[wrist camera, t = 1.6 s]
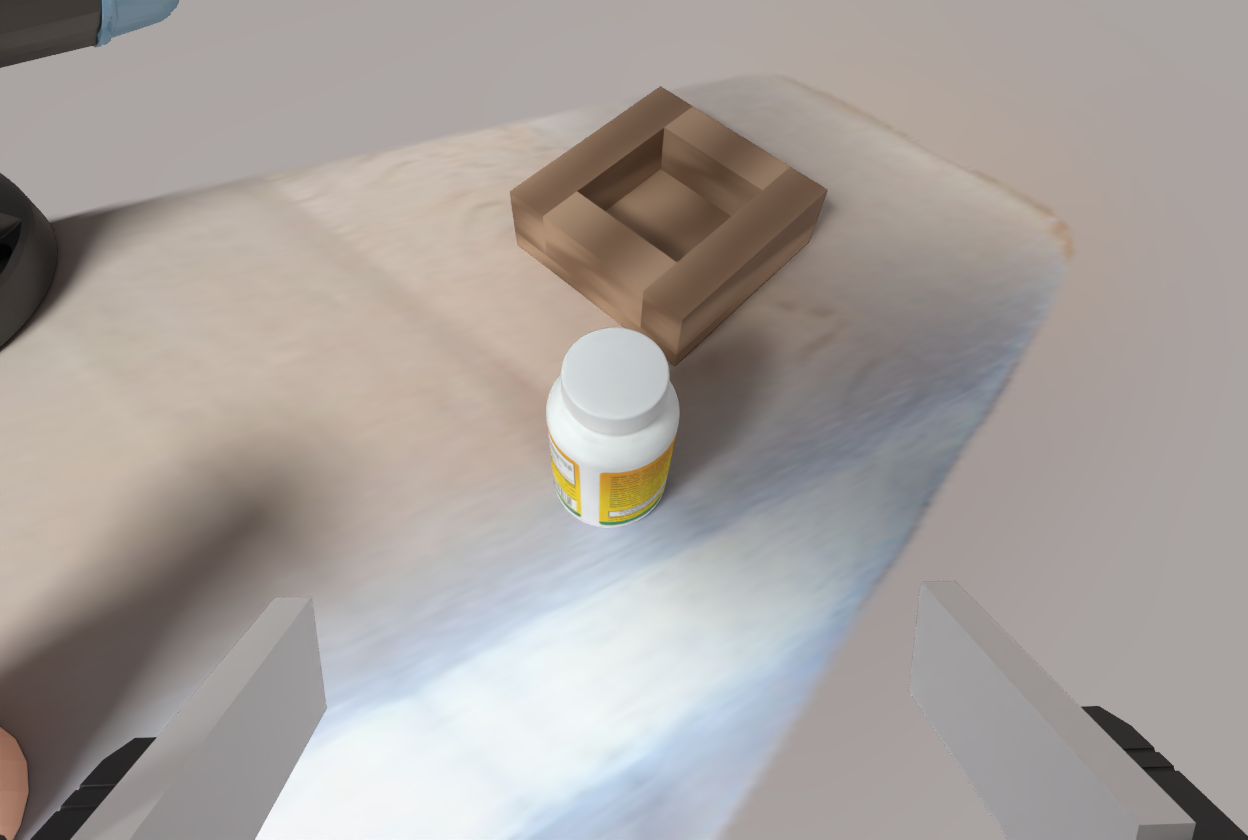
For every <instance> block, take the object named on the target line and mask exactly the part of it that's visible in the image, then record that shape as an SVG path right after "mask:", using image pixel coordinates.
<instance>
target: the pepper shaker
mask: <svg viewBox="0 0 1248 840" xmlns="http://www.w3.org/2000/svg"><path fill="white" fill-rule="evenodd" d="M28 793H29V788H28V772H27V761H26V759H25V757H24V755H23V753H22V751H21V749H20V747H19V745H18V743H17V741H16V739H15V738H14V737H13V736H11V735H10V734H9V733H7V732H6V731H5V730H4V729H2V728H1V727H0V835H4V836H5V837H6V839H7V840H13V839H14V837H15V835H16V833H17V831H18V830H19V828H20V825H21V821H22V817H23V813H24V809H25V805H26V801H27V797H28Z"/></svg>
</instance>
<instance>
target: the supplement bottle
mask: <svg viewBox="0 0 1248 840" xmlns="http://www.w3.org/2000/svg"><path fill="white" fill-rule="evenodd" d="M669 378H670V375H669V367H668V363H667V359H666V357H665V355H664V353H663V351H662V350H661V349H660V348H659V346H658V345H657V344H656V343H655V342H654V341H653V340H651V339H650V338H648V337H647V336H645V335H643V334H642V333H639V332H637V331H634V330H631V329H626V328H618V327H612V328H604V329H600V330H595V331H593V332H590V333H588V334H586V335H584V336H583V337H581V338H580V339H578V340H577V341H576V342H575V343H574V344H573V345H572V346H571V348H570V349H569V350H568V352H567V353H566V355H565V357H564V360H563V363H562V368H561V374H560V376H559V377H558V378H557V380H556V381H555V383H554V384H553V386H552V388H551V391H550V394H549V397H548V401H547V408H546V418H547V429H548V437H549V445H550V454H551V462H552V473H553V480H554V485H555V489H556V492H557V495H558V497H559V499H560V501H561V502H562V504H563V505H564V507H565V508H566V509H567V510H568V511H569V512H570V513H571V514H572V515H573V516H575V517H576V518H578V519H579V520H581V521H583V522H585V523H587V524H589V525H592V526H597V527H603V528H616V527H621V526H625V525H628V524H631V523H634V522H636V521H638V520H640V519H642V518H643V517H645V516H646V515H648V514H649V513H650V512H651V511H652V510H653V509H654V508H655V506H656V505H657V504H658V502H659V501H660V499H661V497H662V494H663V492H664V489H665V484H666V481H667V476H668V472H669V467H670V463H671V457H672V453H673V448H674V443H675V439H676V434H677V430H678V425H679V417H680V409H679V402H678V397H677V394H676V392H675V389H674V387H673V385H672V383H671V382H670V380H669Z"/></svg>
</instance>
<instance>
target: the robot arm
mask: <svg viewBox="0 0 1248 840" xmlns="http://www.w3.org/2000/svg"><path fill="white" fill-rule="evenodd" d="M178 3H179V0H0V68H1V67H5V66H10V65H14V64H18V63H22V62H26V61H30V60H35V59H39V58H42V57H47V56H51V55H56V54H60V53H64V52H68V51H72V50H76V49H80V48H85V47H89V46H94V47H99V46H101V45H105V44H107V43H108V42H109V41H110V40H111V38H112V37H116V36H118V35H121V34H125V33H127V32H131V31H134V30H137V29H140V28H143V27H146V26H149V25H152V24H155V23H158V22H161V21H163V20H164V19H165V18H167V17H168V16H169V15H170V13H171V12H172V11H173V10H174V9H175V8H176V7H177V5H178ZM56 261H57V244H56V239H55V235H54V232H53V229H52V227H51V225H50V223H49V222H48V220H47V219H46V217H45V216H44V215H43V214H42V212H41V211H40V210H39V209H38V208H37V207H36V206H35V205H34V204H33V203H32V202H31V201H30V199H29V198H27V196H25V194H24V193H23V192H22V191H21V190H20V189H19V188H18V187H17V186H16V185H15V184H14V183H12V182H11V181H10V180H9V179H7V178H6V177H5V176H4V175H2V174H1V173H0V346H2V345H3V344H4V343H5V342H6V341H7V340H9V339H10V338H11V337H12V336H13V335H14V334H15V333H16V332H17V331H18V330H19V329H20V328H21V327H22V326H23V325H24V323H25V322H26V321H27V320H28V319H29V317H30V316H31V315H32V314H33V312H34V311H35V310H36V308H37V307H38V305H39V304H40V302H41V301H42V299H43V297H44V296H45V294H46V292H47V290H48V288H49V285H50V283H51V281H52V278H53V275H54V271H55V267H56ZM909 692H910V694H911V695H912V697H913V698H914V700H915V701H916V703H917V704H918V706H919V707H920V709H921V710H922V712H923V713H924V715H925V716H926V718H927V719H928V721H929V722H930V724H931V725H932V727H933V728H934V730H935V731H936V733H937V734H938V736H939V738H940V739H941V741H942V742H943V744H944V745H945V747H946V748H947V749H948V751H949V753H950V754H951V756H952V757H953V758H954V760H955V762H956V763H957V765H958V766H959V768H960V769H961V771H962V772H963V773H964V775H965V777H966V778H967V780H968V781H969V783H970V784H971V786H972V787H973V789H974V790H975V792H976V793H977V795H978V796H979V798H980V799H981V801H982V802H983V803H984V805H985V807H986V808H987V810H988V811H989V813H990V814H991V816H992V817H993V819H994V820H995V822H996V823H997V825H998V826H999V828H1000V829H1001V831H1002V832H1003V834H1004V835H1005V837H1006V838H1007V840H1248V836H1247V835H1246V834H1245V833H1244V832H1243V831H1242V830H1241V829H1240V828H1239V827H1238V826H1236V825H1235V824H1234V823H1233V822H1232V821H1231V820H1230V819H1229V818H1228V817H1227V816H1226V815H1225V814H1224V813H1223V812H1222V811H1221V810H1220V809H1218V808H1217V807H1216V806H1215V805H1214V804H1213V803H1212V802H1211V801H1210V800H1209V799H1208V798H1207V797H1206V796H1205V795H1204V794H1203V793H1202V792H1201V791H1200V790H1198V789H1197V788H1196V787H1195V786H1194V785H1193V784H1192V783H1191V782H1190V781H1189V780H1188V779H1187V778H1186V777H1185V776H1184V775H1183V774H1182V773H1180V772H1179V771H1175V770H1174V766H1173V765H1172V764H1171V763H1170V762H1169V761H1168V760H1167V759H1166V758H1164V756H1163V755H1161V754H1160V753H1159V752H1155V750H1154V747H1153V746H1152V745H1151V744H1150V743H1149V742H1148V741H1147V740H1146V739H1144V738H1143V737H1142V736H1141V735H1140V734H1139V733H1138V732H1137V731H1136V730H1135V729H1134V728H1133V727H1132V726H1131V725H1129V724H1128V723H1126V722H1124V721H1123V720H1121V719H1119V718H1117V717H1116V716H1114V715H1113V714H1111V713H1109V712H1108V711H1106V710H1104V709H1102V708H1101V707H1099V706H1092V707H1090V706H1089V707H1080V706H1079V705H1078V704H1077V703H1076V702H1075V701H1074V700H1073V699H1072V698H1071V697H1070V696H1069V695H1068V694H1067V693H1066V692H1065V691H1064V690H1063V689H1062V688H1061V687H1060V686H1059V685H1058V684H1057V683H1056V682H1055V681H1054V680H1053V679H1052V678H1051V677H1050V676H1049V675H1048V674H1047V673H1046V672H1045V671H1044V670H1043V669H1042V668H1041V667H1040V666H1039V665H1038V664H1037V663H1036V662H1035V661H1034V660H1033V659H1032V658H1031V657H1030V656H1029V655H1028V654H1027V653H1026V652H1025V651H1024V650H1023V649H1022V647H1021V646H1020V645H1019V644H1018V643H1016V641H1014V639H1013V638H1011V636H1010V635H1009V634H1008V633H1006V632H1005V631H1004V629H1003V628H1002V627H1001V626H1000V625H999V624H998V623H997V622H996V621H995V620H994V619H993V618H992V617H991V616H990V615H989V614H988V613H987V612H986V611H985V610H984V609H983V608H982V607H981V606H980V605H979V604H978V603H977V602H976V601H975V600H974V599H973V598H972V597H971V596H970V595H969V594H968V593H967V592H966V591H965V590H964V589H963V588H962V587H961V586H960V585H959V584H958V583H957V582H956V581H934V582H932V581H931V582H921V585H920V594H919V603H918V611H917V621H916V629H915V638H914V648H913V656H912V665H911V674H910V684H909ZM326 709H327V707H326V699H325V692H324V684H323V677H322V669H321V662H320V655H319V647H318V640H317V632H316V625H315V617H314V610H313V603H312V597H283V598H274V600H273V601H272V602H271V603H270V604H269V605H268V607H267V608H266V609H265V610H264V611H263V613H262V614H261V615H260V616H259V617H258V618H257V620H256V621H255V622H254V623H253V624H252V626H251V627H250V628H249V629H248V630H247V631H246V633H245V634H244V635H243V636H242V637H241V639H240V640H239V641H238V642H237V643H236V644H235V646H234V647H233V648H232V649H231V650H230V652H229V653H228V654H227V655H226V656H225V657H224V659H223V660H222V661H221V662H220V663H219V665H218V666H217V667H216V668H215V669H214V670H213V672H212V673H211V674H210V675H209V676H208V678H207V679H206V680H205V681H204V682H203V683H202V685H201V686H200V687H199V688H198V689H197V691H196V692H195V693H194V694H193V695H192V696H191V698H190V699H189V700H188V701H187V702H186V704H185V705H184V706H183V707H182V708H181V709H180V711H179V712H178V713H177V714H176V715H175V717H174V718H173V719H172V720H171V721H170V722H169V724H168V725H167V726H166V727H165V728H164V730H163V731H162V732H161V733H160V734H159V735H158V737H152V738H134V739H133V740H131V741H130V742H128V743H127V744H126V745H124V746H123V747H121V748H120V749H118V750H117V751H115V752H114V753H112V754H111V755H110V756H108V757H107V758H105V759H104V760H102V762H101V763H100V764H99V765H98V766H97V767H96V768H95V769H94V770H93V771H92V773H91V774H90V775H89V776H88V777H87V778H86V779H85V780H84V781H83V782H82V784H81V785H80V788H79V790H75V791H74V792H73V793H72V795H71V796H70V797H69V798H68V799H67V800H66V801H65V802H64V803H63V804H62V806H61V809H60V811H56V812H55V813H54V814H53V815H52V816H51V818H50V819H49V820H48V821H47V822H46V823H45V824H44V825H43V826H42V827H41V829H40V830H39V831H38V832H37V833H36V834H35V835H34V836H33V837H32V838H31V840H255V838H256V836H257V834H258V832H259V831H260V829H261V827H262V825H263V823H264V822H265V820H266V818H267V816H268V814H269V812H270V811H271V809H272V807H273V805H274V803H275V802H276V800H277V798H278V796H279V794H280V792H281V791H282V789H283V787H284V785H285V783H286V782H287V780H288V778H289V776H290V774H291V772H292V771H293V769H294V767H295V765H296V763H297V761H298V760H299V758H300V756H301V754H302V752H303V751H304V749H305V747H306V745H307V743H308V741H309V740H310V738H311V736H312V734H313V732H314V731H315V729H316V727H317V725H318V723H319V721H320V720H321V718H322V716H323V714H324V712H325V711H326ZM0 840H7V839H6V837H5V836H4V835H0Z"/></svg>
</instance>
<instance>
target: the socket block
mask: <svg viewBox="0 0 1248 840" xmlns="http://www.w3.org/2000/svg"><path fill="white" fill-rule="evenodd" d="M827 191H828V190H827V189H825V188H824V187H822V186H821V185H819V184H817V183H816V182H814V181H813V180H811V179H809V178H808V177H806V176H804V175H803V174H801V173H800V172H798V171H796V170H795V169H793V168H792V167H790V166H788V165H787V164H785V163H783V162H782V161H780V160H779V159H777V158H775V157H774V156H772V155H771V154H769V153H767V152H766V151H764V150H762V149H761V148H759V147H758V146H756V145H754V144H753V143H751V142H750V141H748V140H746V139H745V138H743V137H741V136H740V135H738V134H737V133H735V132H733V131H732V130H730V129H729V128H727V127H725V126H724V125H722V124H721V123H719V122H717V121H716V120H714V119H712V118H711V117H709V116H708V115H706V114H704V113H703V112H701V111H700V110H698V109H696V108H695V107H693V106H691V105H690V104H688V103H687V102H685V101H683V100H682V99H680V98H679V97H677V96H675V95H674V94H672V93H670V92H669V91H667V90H666V89H664V88H662V87H661V86H660V87H659V88H657V89H656V90H655V91H653V92H652V93H650V94H649V95H647V96H646V97H645V98H643V99H642V100H640V101H639V102H637V103H636V104H634V105H633V106H632V107H630V108H629V109H627V110H626V111H624V112H623V113H622V114H620V115H619V116H617V117H616V118H614V119H613V120H612V121H610V122H609V123H607V124H606V125H604V126H603V127H602V128H600V129H599V130H597V131H596V132H594V133H593V134H592V135H590V136H589V137H587V138H586V139H584V140H583V141H582V142H580V143H579V144H577V145H576V146H574V147H573V148H571V149H570V150H569V151H567V152H566V153H564V154H563V155H561V156H560V157H559V158H557V159H556V160H554V161H553V162H551V163H550V164H549V165H547V166H546V167H544V168H543V169H541V170H540V171H539V172H537V173H536V174H534V175H533V176H531V177H530V178H529V179H527V180H526V181H524V182H523V183H521V184H520V185H519V186H517V187H516V188H514V189H513V190H511V191H510V197H511V204H512V211H513V218H514V225H515V232H516V239H517V244H518V245H519V246H520V247H521V248H523V249H524V250H525V251H527V252H528V253H529V254H530V255H532V256H533V257H534V258H536V259H537V260H538V261H540V262H541V263H542V264H543V265H545V266H546V267H547V268H549V269H550V270H551V271H552V272H554V273H555V274H556V275H558V276H559V277H560V278H562V279H563V280H564V281H565V282H567V283H568V284H569V285H571V286H572V287H573V288H574V289H576V290H577V291H578V292H580V293H581V294H582V295H584V296H585V297H586V298H587V299H589V300H590V301H591V302H593V303H594V304H595V305H596V306H598V307H599V308H600V309H602V310H603V311H604V312H606V313H607V314H608V315H609V316H611V317H612V318H613V319H615V320H616V321H617V322H618V323H620V324H621V325H622V326H624V327H625V328H626V329H631V330H634V331H637V332H639V333H642V334H643V335H645V336H647V337H648V338H650V339H651V340H653V341H654V342H655V343H656V344H657V345H658V346H659V348H660V349H661V350H662V351H663V353H664V355H665V357H666V359H667V360H668V361H669V362H670V363H672V364H673V365H674V366H675V365H676V364H677V363H679V362H680V361H681V360H682V359H683V358H684V357H685V356H686V355H687V354H688V353H689V352H690V351H692V350H693V349H694V348H695V347H696V346H697V345H698V344H699V343H700V342H701V341H702V340H703V339H705V338H706V337H707V336H708V335H709V334H710V333H711V332H712V331H713V330H714V329H715V328H716V327H718V326H719V325H720V324H721V323H722V322H723V321H724V320H725V319H726V318H727V317H728V316H729V315H731V314H732V313H733V312H734V311H735V310H736V309H737V308H738V307H739V306H740V305H741V304H742V303H743V302H745V301H746V300H747V299H748V298H749V297H750V296H751V295H752V294H753V293H754V292H755V291H756V290H758V289H759V288H760V287H761V286H762V285H763V284H764V283H765V282H766V281H767V280H768V279H769V278H771V277H772V276H773V275H774V274H775V273H776V272H777V271H778V270H779V269H780V268H781V267H782V266H784V265H785V264H786V263H787V262H788V261H789V260H790V259H791V258H792V257H793V256H794V255H795V254H797V253H798V252H799V251H800V250H801V249H802V248H803V247H804V246H805V245H806V244H807V243H808V242H809V241H810V238H811V235H812V232H813V230H814V227H815V224H816V221H817V218H818V216H819V213H820V210H821V207H822V205H823V202H824V199H825V196H826V193H827Z"/></svg>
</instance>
